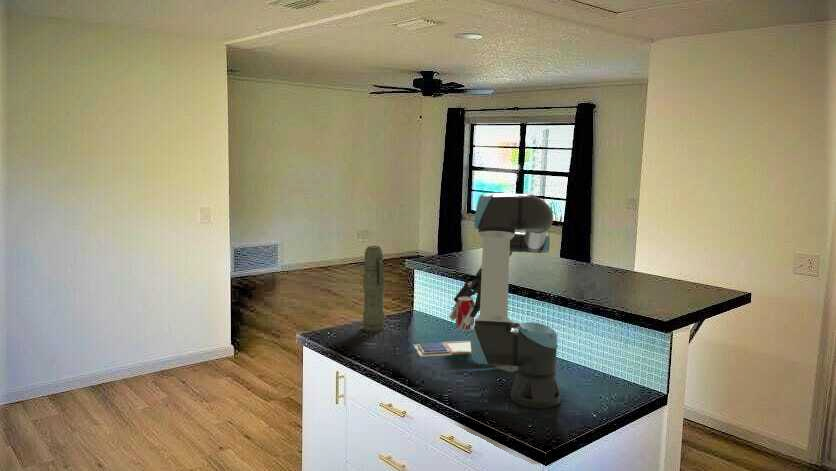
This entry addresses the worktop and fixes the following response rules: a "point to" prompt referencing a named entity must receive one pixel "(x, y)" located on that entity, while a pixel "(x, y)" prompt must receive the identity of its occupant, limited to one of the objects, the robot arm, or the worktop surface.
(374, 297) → the thermos
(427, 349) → the ink pad
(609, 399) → the worktop surface
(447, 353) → the blotter board
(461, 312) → the soda can
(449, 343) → the orange bordered square plate
